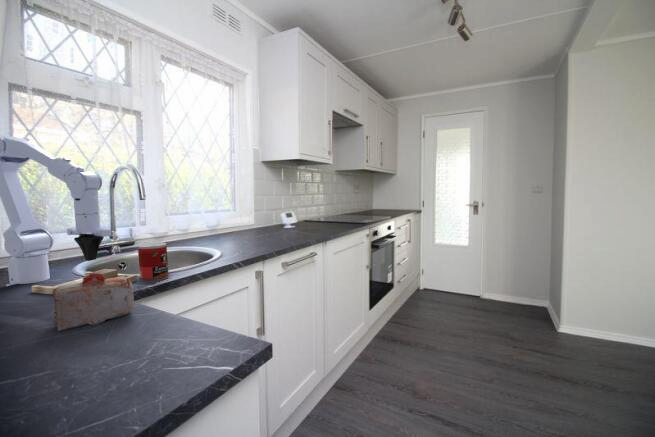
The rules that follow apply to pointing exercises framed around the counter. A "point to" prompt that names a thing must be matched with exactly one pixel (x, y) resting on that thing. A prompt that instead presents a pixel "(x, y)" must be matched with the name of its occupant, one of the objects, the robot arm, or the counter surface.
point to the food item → (92, 301)
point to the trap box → (50, 289)
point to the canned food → (153, 260)
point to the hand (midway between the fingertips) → (91, 260)
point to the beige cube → (106, 273)
